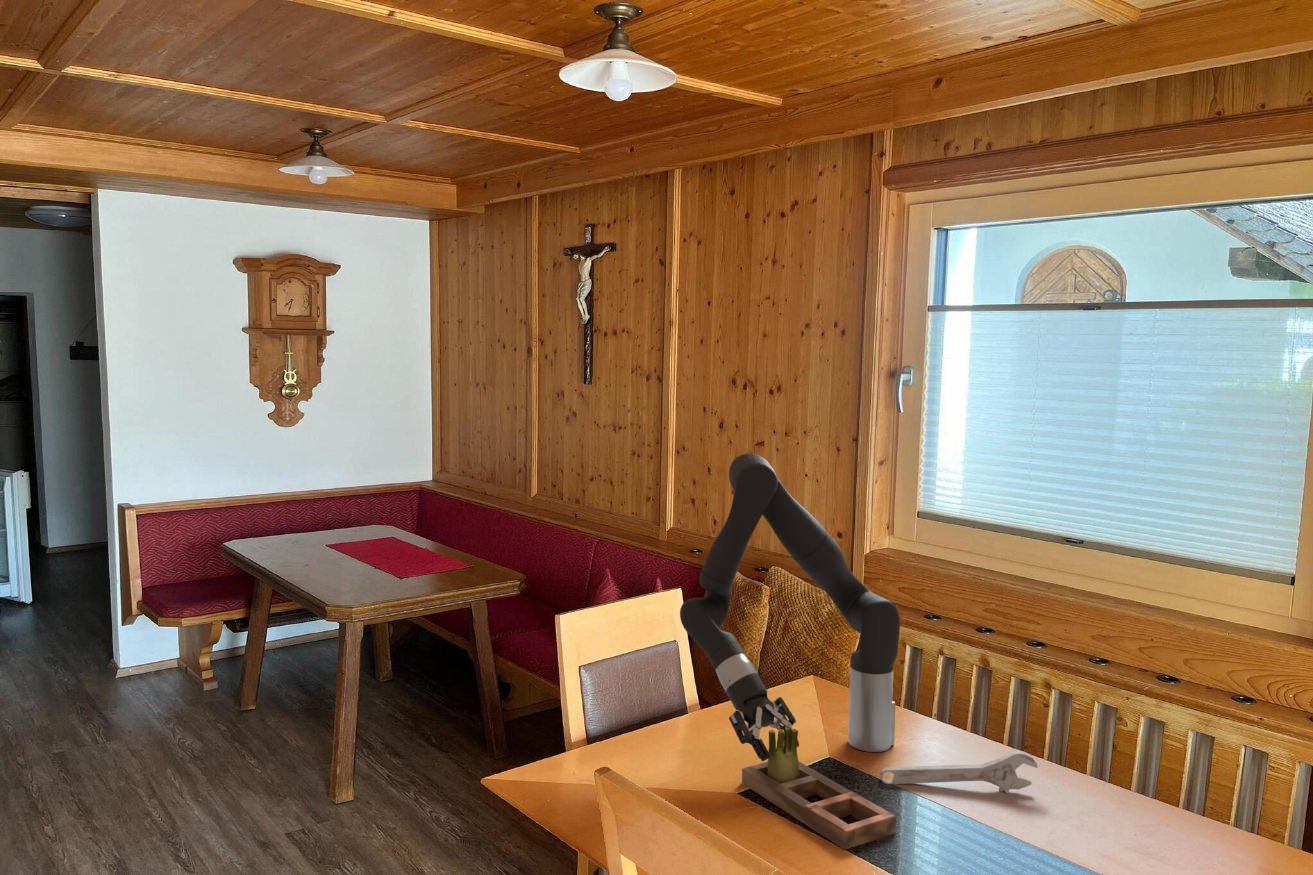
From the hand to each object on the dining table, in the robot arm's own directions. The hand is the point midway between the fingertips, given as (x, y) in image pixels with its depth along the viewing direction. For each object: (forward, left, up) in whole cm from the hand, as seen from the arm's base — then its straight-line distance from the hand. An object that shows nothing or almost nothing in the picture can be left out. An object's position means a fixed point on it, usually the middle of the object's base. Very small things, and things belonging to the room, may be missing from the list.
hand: (781, 753), depth 187 cm
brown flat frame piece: (0, +10, -7) cm, 12 cm away
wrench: (-30, +17, -7) cm, 36 cm away
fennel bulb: (0, +1, -7) cm, 7 cm away
